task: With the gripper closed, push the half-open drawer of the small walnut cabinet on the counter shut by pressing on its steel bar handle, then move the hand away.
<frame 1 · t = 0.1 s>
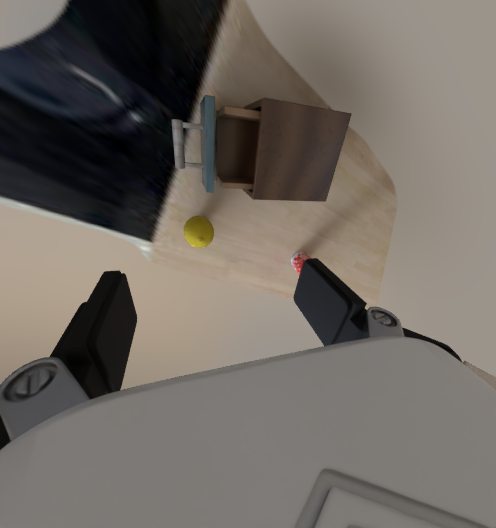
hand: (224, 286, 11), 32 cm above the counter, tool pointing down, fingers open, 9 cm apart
drawer: (230, 150, 31), point 5 cm above the counter, slide at 6.0 cm
lemon: (197, 223, 41), on the counter
cabinet: (276, 153, 38), on the counter
beverage cup: (298, 258, 54), on the counter
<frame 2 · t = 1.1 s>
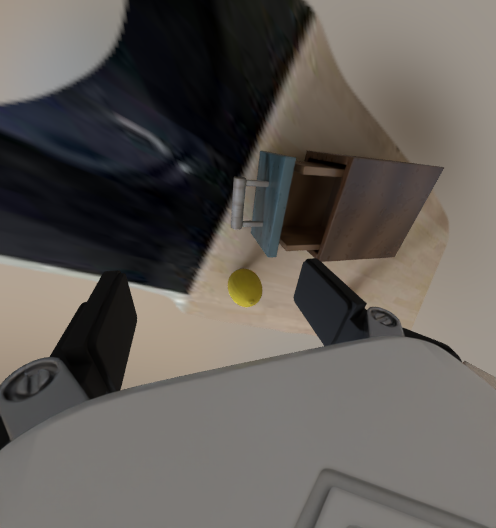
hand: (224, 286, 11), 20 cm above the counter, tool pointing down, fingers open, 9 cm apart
drawer: (292, 204, 27), point 5 cm above the counter, slide at 6.0 cm
lemon: (238, 272, 37), on the counter
cabinet: (332, 197, 33), on the counter
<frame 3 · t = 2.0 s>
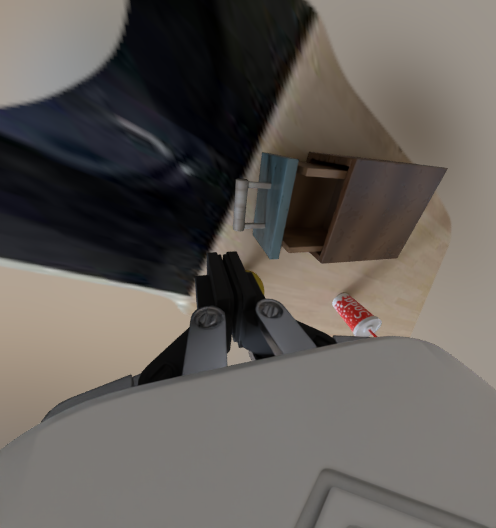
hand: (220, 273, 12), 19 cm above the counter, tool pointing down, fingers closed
drawer: (295, 206, 27), point 5 cm above the counter, slide at 6.0 cm
lemon: (240, 274, 36), on the counter
cabinet: (334, 198, 33), on the counter
beverage cup: (340, 299, 49), on the counter
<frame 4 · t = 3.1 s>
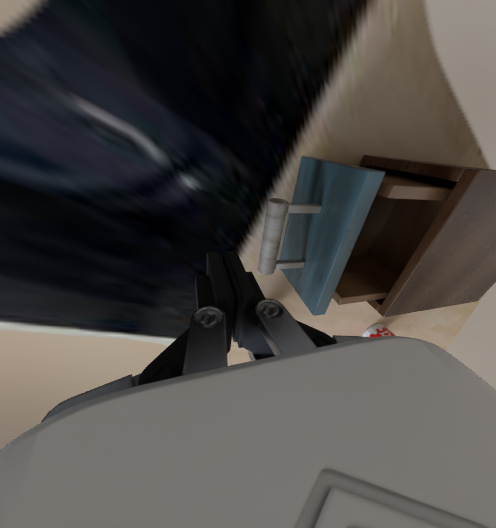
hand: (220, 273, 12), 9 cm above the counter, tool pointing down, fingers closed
drawer: (347, 234, 18), point 5 cm above the counter, slide at 6.0 cm
cabinet: (386, 216, 25), on the counter
beverage cup: (372, 330, 41), on the counter
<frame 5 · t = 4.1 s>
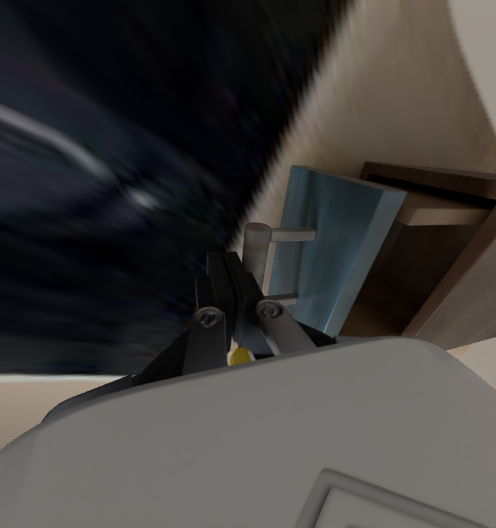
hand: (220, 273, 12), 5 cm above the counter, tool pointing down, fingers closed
drawer: (350, 261, 15), point 5 cm above the counter, slide at 5.6 cm, touching gripper
lemon: (244, 341, 24), on the counter
cabinet: (392, 232, 21), on the counter
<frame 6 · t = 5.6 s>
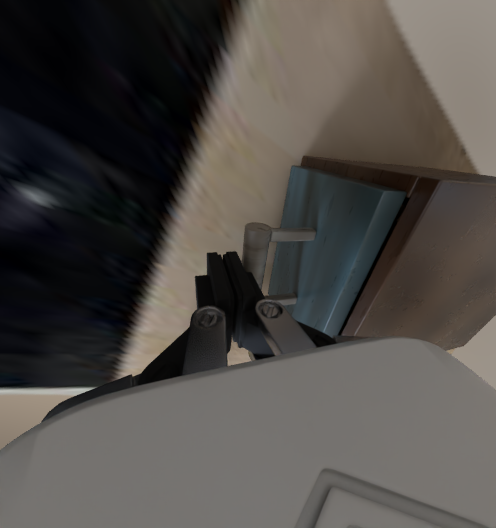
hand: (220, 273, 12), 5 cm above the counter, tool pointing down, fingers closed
drawer: (349, 261, 15), point 5 cm above the counter, slide at 0.0 cm, touching cabinet, gripper
cabinet: (348, 234, 20), on the counter
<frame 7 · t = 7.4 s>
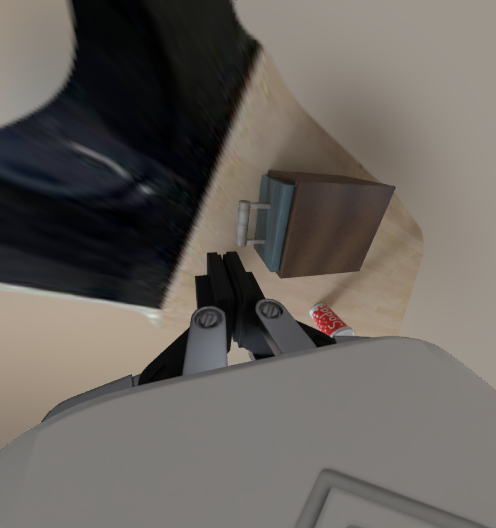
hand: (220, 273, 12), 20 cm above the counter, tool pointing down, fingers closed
drawer: (292, 222, 29), point 5 cm above the counter, slide at 0.0 cm, touching cabinet
cabinet: (299, 213, 34), on the counter
beverage cup: (317, 309, 49), on the counter
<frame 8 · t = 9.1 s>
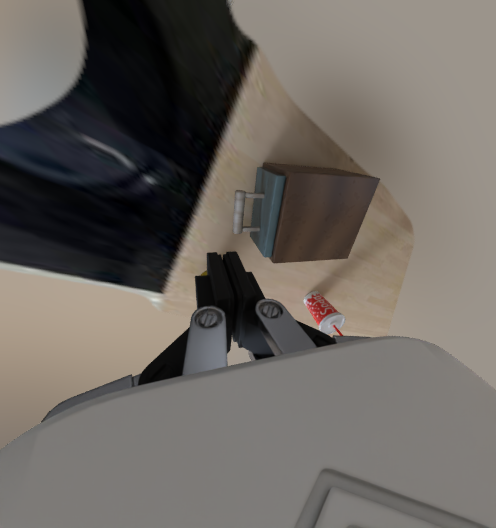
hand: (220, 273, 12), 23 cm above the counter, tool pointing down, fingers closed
drawer: (285, 212, 31), point 5 cm above the counter, slide at 0.0 cm, touching cabinet
cabinet: (293, 204, 36), on the counter
beverage cup: (311, 297, 52), on the counter
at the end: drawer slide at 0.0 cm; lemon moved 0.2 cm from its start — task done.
